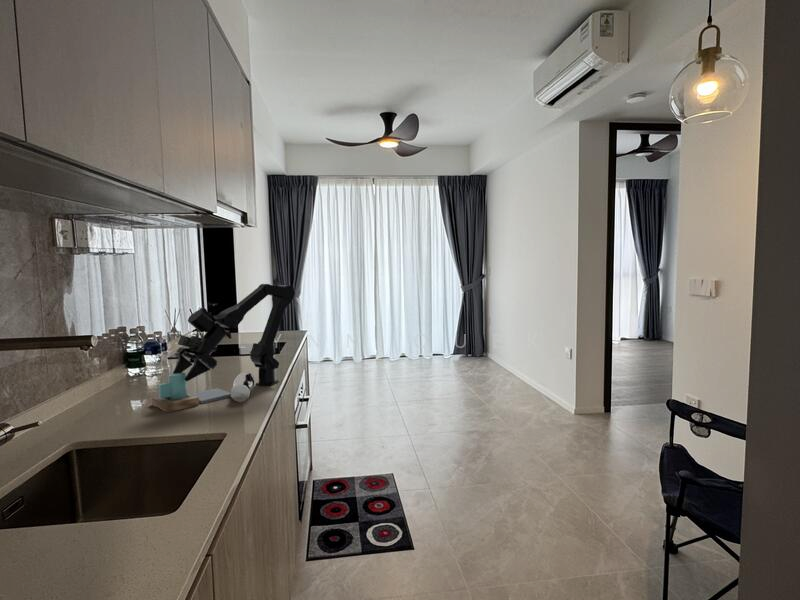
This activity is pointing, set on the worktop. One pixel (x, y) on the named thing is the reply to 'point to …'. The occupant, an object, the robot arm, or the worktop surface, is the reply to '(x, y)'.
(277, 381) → the robot arm
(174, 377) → the teal gourd with tab
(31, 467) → the worktop surface
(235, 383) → the beer glass
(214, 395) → the coaster
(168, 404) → the bracket
